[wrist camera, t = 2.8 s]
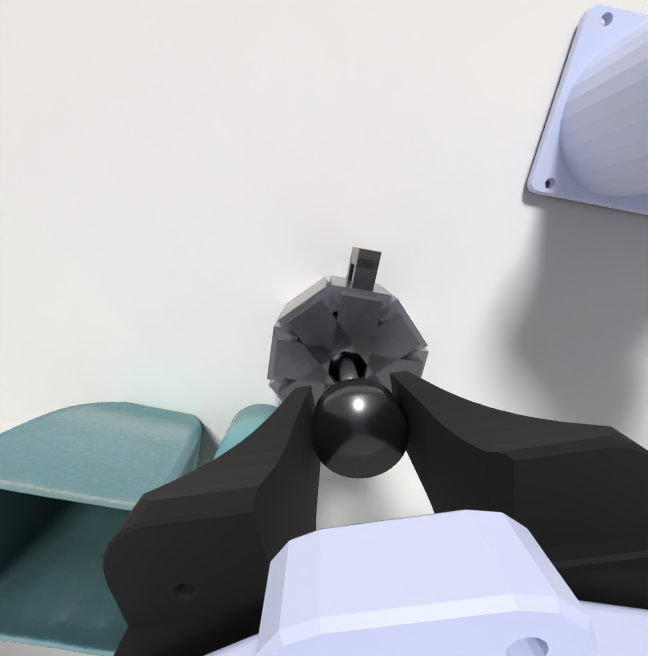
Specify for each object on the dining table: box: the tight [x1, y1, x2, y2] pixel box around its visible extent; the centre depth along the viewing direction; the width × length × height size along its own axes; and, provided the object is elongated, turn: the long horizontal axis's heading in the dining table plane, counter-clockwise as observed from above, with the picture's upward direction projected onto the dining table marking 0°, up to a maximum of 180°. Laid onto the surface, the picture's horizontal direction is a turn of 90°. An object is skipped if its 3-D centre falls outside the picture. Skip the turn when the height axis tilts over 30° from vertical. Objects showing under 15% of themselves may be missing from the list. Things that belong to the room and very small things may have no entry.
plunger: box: [313, 356, 409, 478], centre depth 12 cm, size 3×3×6 cm
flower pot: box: [0, 402, 202, 656], centre depth 16 cm, size 9×9×9 cm
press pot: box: [267, 247, 429, 406], centre depth 16 cm, size 8×9×4 cm
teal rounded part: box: [213, 404, 278, 460], centre depth 19 cm, size 5×5×4 cm
